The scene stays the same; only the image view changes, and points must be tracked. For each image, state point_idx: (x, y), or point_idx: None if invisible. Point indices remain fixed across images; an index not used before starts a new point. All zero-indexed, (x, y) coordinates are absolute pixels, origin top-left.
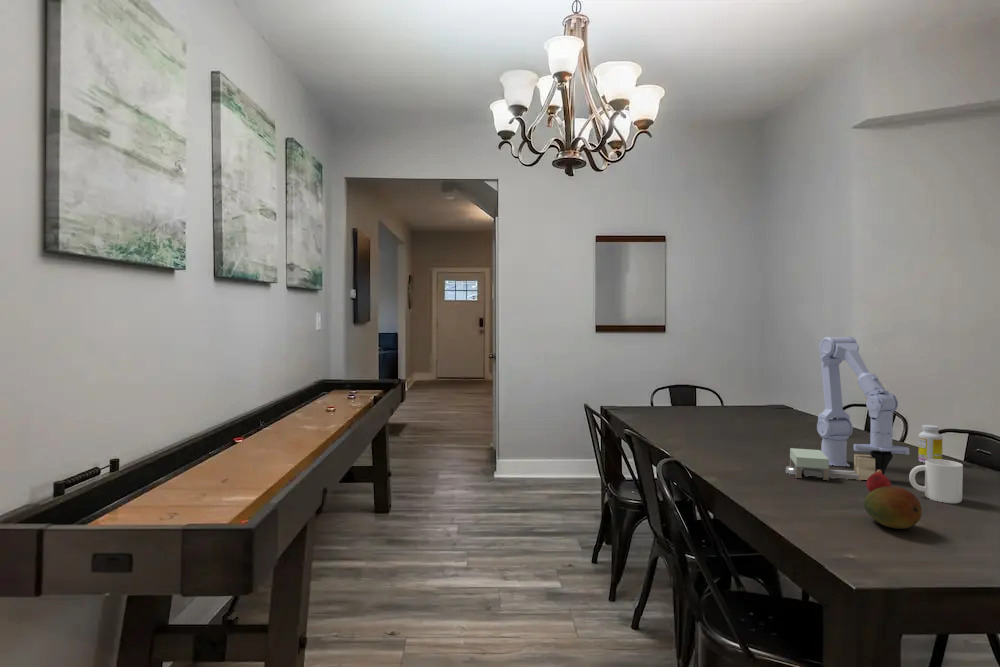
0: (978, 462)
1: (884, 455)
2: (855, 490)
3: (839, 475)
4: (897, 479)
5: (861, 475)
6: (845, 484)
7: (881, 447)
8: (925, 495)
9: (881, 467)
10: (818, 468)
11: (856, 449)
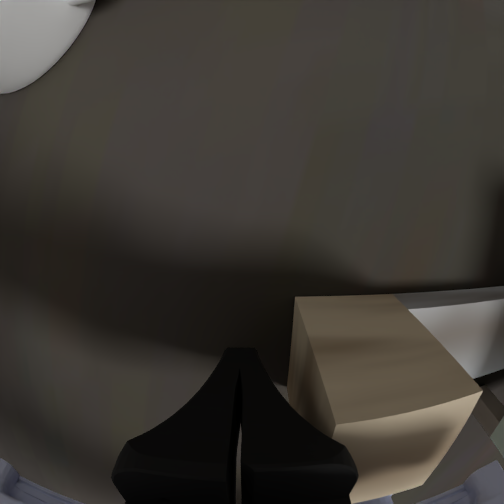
0: None
1: (223, 472)
2: (460, 50)
3: (483, 297)
4: (140, 379)
5: (390, 309)
6: (484, 169)
7: None
8: (93, 2)
9: (246, 385)
10: (485, 394)
11: (497, 476)
